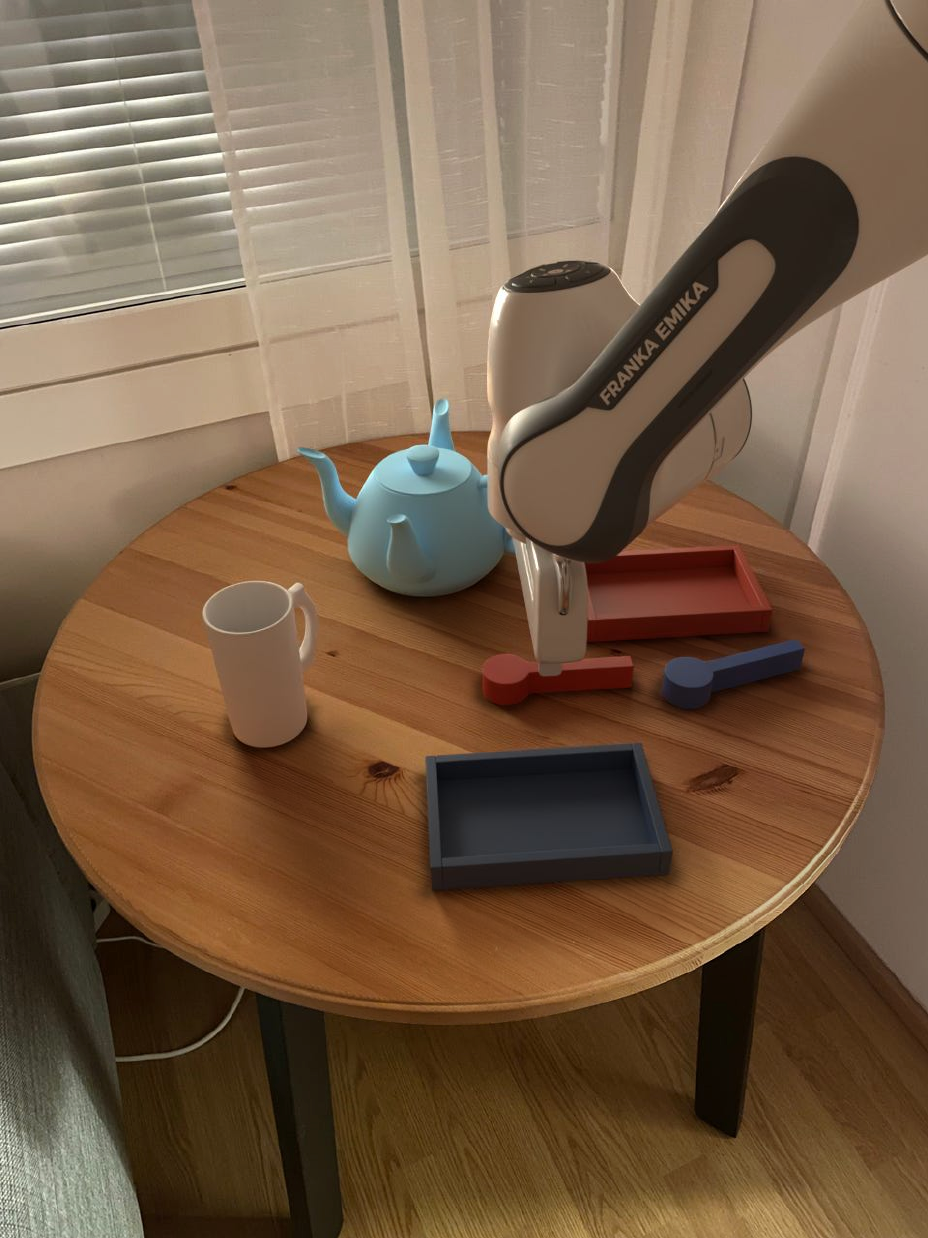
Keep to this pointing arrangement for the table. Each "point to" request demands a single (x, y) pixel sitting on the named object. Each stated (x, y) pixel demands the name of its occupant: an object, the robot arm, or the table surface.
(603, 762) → the blue tray
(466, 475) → the teapot
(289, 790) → the table surface
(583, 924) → the table surface
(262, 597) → the mug
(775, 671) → the blue spoon
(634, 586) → the red tray
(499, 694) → the red spoon
